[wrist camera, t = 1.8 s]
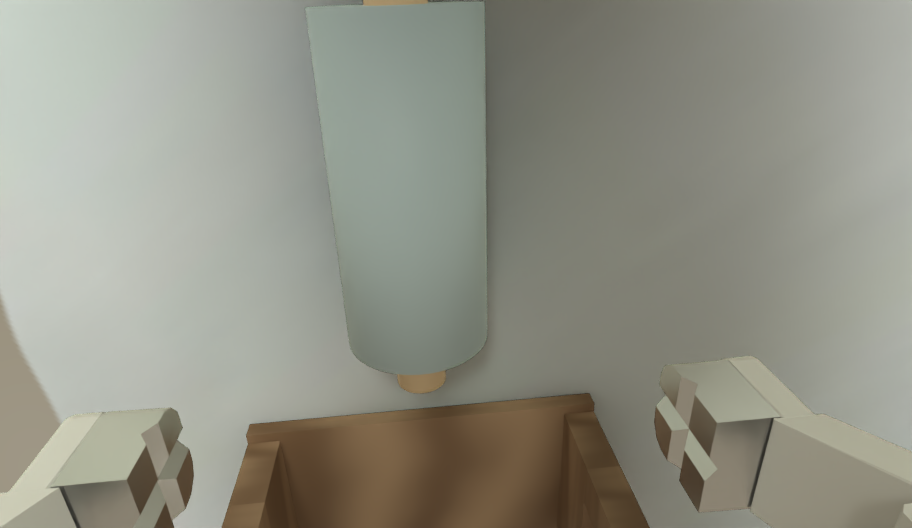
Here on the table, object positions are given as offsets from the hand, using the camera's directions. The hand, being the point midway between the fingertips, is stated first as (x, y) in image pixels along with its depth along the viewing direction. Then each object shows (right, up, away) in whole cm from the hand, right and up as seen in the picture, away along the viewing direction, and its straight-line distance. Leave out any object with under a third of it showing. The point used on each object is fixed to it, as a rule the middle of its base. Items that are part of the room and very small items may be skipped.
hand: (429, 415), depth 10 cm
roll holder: (-1, -9, +21) cm, 23 cm away
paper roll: (-1, +5, +11) cm, 12 cm away
